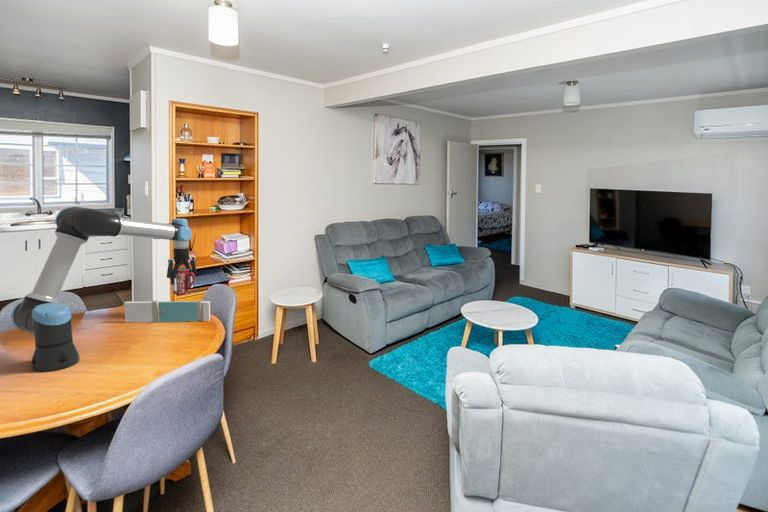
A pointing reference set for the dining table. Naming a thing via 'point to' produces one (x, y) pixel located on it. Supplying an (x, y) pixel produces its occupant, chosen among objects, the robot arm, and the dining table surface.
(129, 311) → the wall frame
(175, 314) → the door
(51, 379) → the dining table surface
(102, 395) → the dining table surface
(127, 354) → the dining table surface
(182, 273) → the mug
